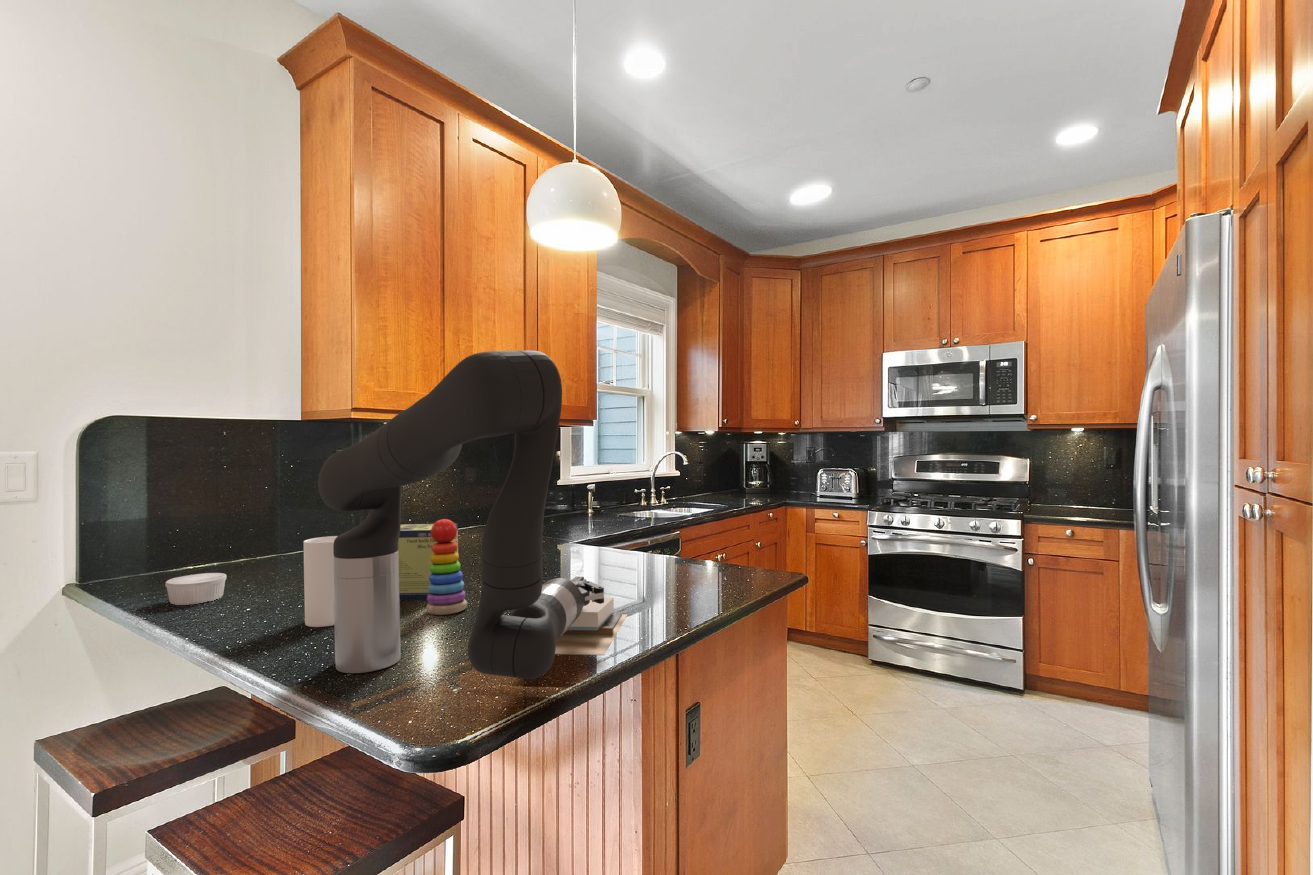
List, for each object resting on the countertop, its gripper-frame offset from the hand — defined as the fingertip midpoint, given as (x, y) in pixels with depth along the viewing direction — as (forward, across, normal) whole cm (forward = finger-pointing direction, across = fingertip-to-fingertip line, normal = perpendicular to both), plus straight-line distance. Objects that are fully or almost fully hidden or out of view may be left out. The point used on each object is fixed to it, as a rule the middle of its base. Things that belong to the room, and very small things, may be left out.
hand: (579, 582), depth 109 cm
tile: (-6, 0, +5) cm, 8 cm away
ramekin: (+19, +94, +9) cm, 96 cm away
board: (-2, 0, +9) cm, 9 cm away
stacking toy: (+13, +31, +9) cm, 35 cm away
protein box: (+27, +44, +9) cm, 53 cm away
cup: (+6, +52, +9) cm, 53 cm away
